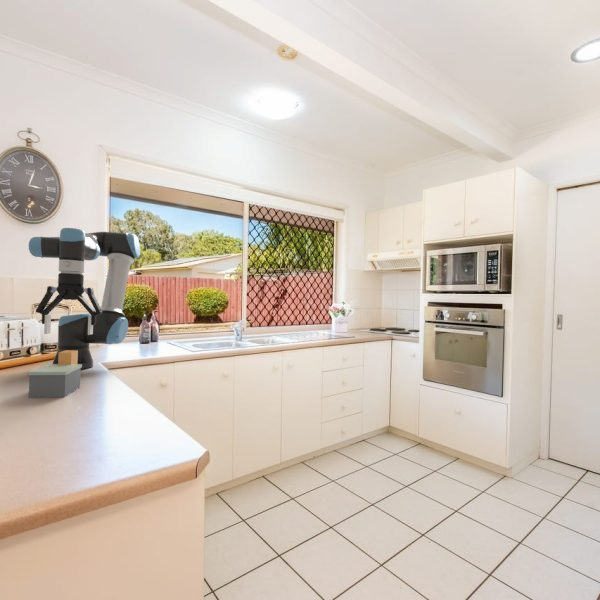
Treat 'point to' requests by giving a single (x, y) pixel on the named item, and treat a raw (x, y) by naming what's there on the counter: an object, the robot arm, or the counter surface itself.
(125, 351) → the counter surface
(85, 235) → the robot arm
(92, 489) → the counter surface
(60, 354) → the lid
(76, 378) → the tub
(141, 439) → the counter surface
